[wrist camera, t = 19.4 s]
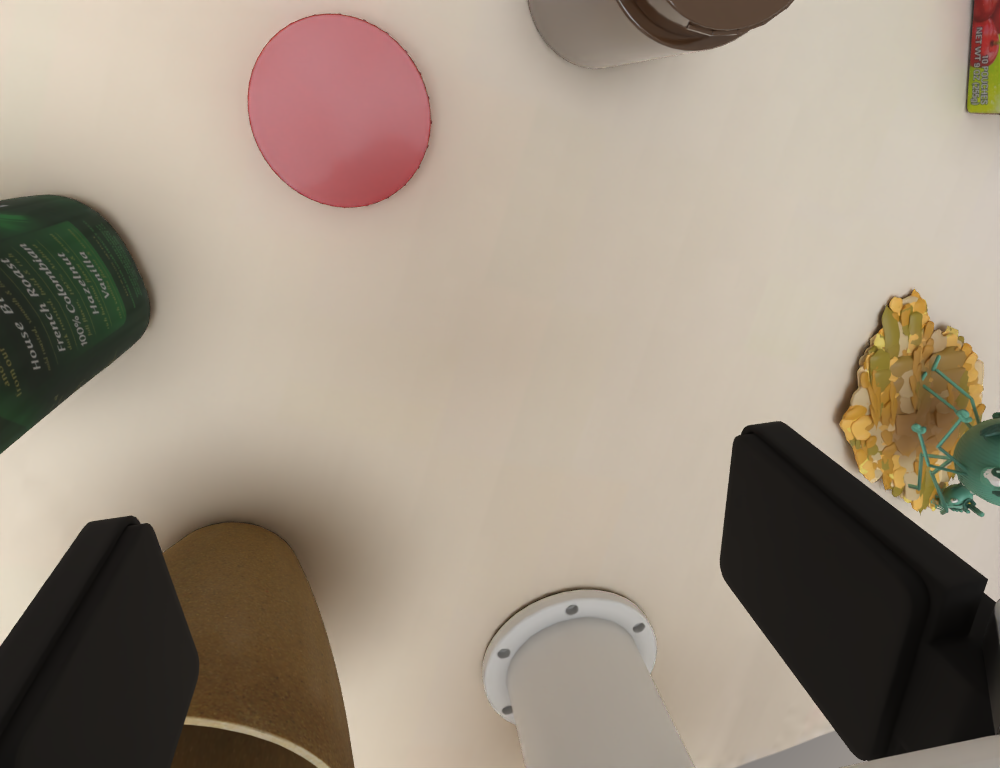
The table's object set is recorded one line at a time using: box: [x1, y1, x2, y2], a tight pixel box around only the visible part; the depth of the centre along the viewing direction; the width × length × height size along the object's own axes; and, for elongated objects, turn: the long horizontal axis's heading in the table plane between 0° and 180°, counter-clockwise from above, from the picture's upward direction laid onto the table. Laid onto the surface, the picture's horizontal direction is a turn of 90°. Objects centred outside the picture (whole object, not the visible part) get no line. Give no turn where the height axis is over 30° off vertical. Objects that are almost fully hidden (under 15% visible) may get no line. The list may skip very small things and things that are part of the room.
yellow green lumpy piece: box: [840, 289, 1000, 517], centre depth 35 cm, size 10×18×15 cm, turn 17°
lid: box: [248, 14, 432, 208], centre depth 27 cm, size 8×8×2 cm
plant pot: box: [162, 522, 354, 768], centre depth 30 cm, size 15×15×16 cm
